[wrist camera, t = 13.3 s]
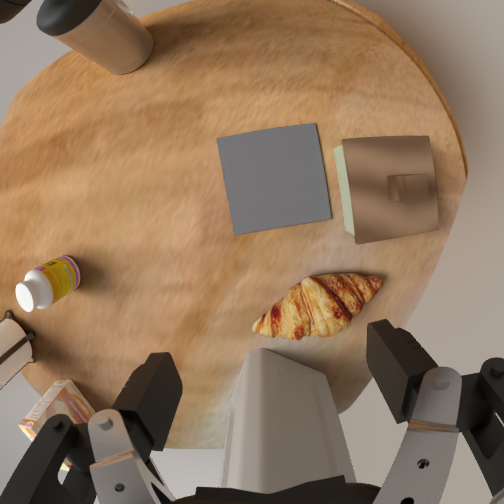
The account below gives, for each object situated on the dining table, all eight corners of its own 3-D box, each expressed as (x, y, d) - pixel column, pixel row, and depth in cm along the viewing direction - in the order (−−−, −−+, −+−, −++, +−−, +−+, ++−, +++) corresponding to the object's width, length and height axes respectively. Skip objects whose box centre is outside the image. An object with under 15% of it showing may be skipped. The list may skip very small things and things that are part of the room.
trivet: (217, 139, 36) (216, 138, 36) (314, 123, 35) (315, 123, 35) (235, 234, 40) (234, 235, 39) (330, 218, 39) (331, 219, 38)
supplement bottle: (72, 249, 41) (25, 271, 29) (87, 283, 42) (44, 313, 30) (51, 261, 42) (7, 283, 29) (65, 293, 43) (24, 321, 31)
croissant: (260, 327, 47) (269, 367, 41) (236, 296, 41) (243, 341, 35) (373, 282, 44) (392, 318, 38) (369, 242, 38) (395, 280, 32)
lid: (340, 140, 30) (357, 132, 24) (425, 136, 29) (450, 131, 24) (355, 242, 33) (373, 254, 27) (435, 228, 32) (459, 237, 27)
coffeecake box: (105, 421, 52) (75, 474, 33) (88, 421, 53) (59, 469, 34) (71, 378, 49) (30, 429, 30) (56, 379, 50) (16, 425, 31)
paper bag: (308, 331, 43) (349, 480, 16) (330, 388, 46) (364, 513, 19) (205, 364, 46) (167, 503, 18) (239, 415, 49) (228, 536, 22)
